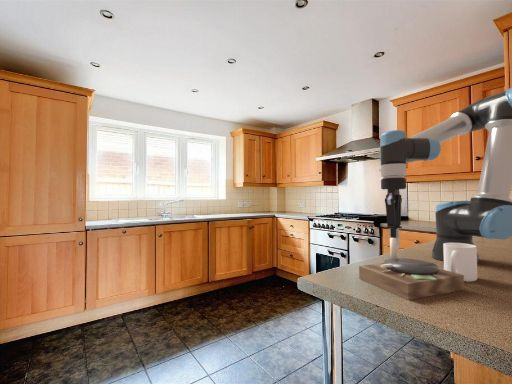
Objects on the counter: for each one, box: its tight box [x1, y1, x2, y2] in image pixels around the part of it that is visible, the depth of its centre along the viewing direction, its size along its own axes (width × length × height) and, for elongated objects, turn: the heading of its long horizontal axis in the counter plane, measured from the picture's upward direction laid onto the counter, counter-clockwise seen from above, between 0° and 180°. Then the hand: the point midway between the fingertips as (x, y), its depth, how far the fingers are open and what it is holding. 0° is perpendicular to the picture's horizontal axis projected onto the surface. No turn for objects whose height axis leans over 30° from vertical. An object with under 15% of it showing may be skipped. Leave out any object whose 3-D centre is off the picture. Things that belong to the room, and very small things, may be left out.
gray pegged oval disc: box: [381, 238, 439, 275], centre depth 79 cm, size 18×14×8 cm
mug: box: [443, 243, 478, 282], centre depth 82 cm, size 12×8×10 cm
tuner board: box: [358, 262, 465, 301], centre depth 78 cm, size 20×18×4 cm
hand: (394, 247), depth 88 cm, fingers closed
